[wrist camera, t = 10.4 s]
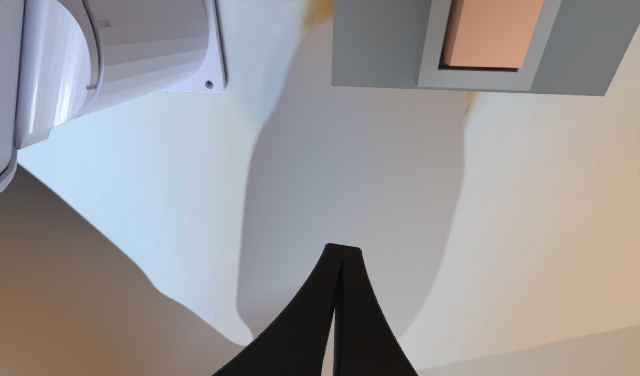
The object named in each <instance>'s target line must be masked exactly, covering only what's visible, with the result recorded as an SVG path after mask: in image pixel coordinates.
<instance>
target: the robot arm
mask: <svg viewBox="0 0 640 376" xmlns="http://www.w3.org/2000/svg"><path fill="white" fill-rule="evenodd" d="M208 81H211V82H212V84H213V88H211V87H210V86H209V85H208ZM225 89H226V79H225V72H224V65H223V58H222V51H221V44H220V37H219V30H218V23H217V16H216V9H215V2H214V0H0V192H1V191H3V190H4V189H5V188H6V186H7V185H8V184H9V182H10V181H11V180H12V178H13V176H14V173H15V171H16V168H17V150H19V149H22V148H24V147H27V146H30V145H32V144H35V143H38V142H40V141H43V140H46V139H48V136H49V133H50V131H51V130H52V128H53V127H55V126H56V125H58V124H61V123H64V122H67V121H70V120H72V119H75V118H78V117H81V116H84V115H87V114H90V113H93V112H95V111H98V110H101V109H104V108H107V107H110V106H113V105H116V104H119V103H122V102H125V101H128V100H130V99H133V98H136V97H139V96H142V95H145V94H148V93H151V92H154V91H157V90H161V91H184V92H207V93H221V92H223V91H224V90H225ZM16 149H17V150H16ZM334 309H335V329H334V331H335V332H334V364H333V376H418V375H417V373H416V371H415V370H414V368H413V367H412V365H411V363H410V362H409V360H408V359H407V357H406V356H405V354H404V352H403V351H402V349H401V347H400V345H399V344H398V342H397V340H396V338H395V336H394V335H393V333H392V331H391V329H390V327H389V325H388V323H387V321H386V319H385V317H384V315H383V313H382V310H381V308H380V306H379V304H378V301H377V299H376V297H375V294H374V291H373V289H372V286H371V283H370V281H369V278H368V275H367V271H366V268H365V264H364V260H363V256H362V250H361V249H360V248H358V247H351V246H345V245H339V244H332V243H328V244H326V245H325V248H324V250H323V253H322V255H321V257H320V259H319V261H318V262H317V264H316V266H315V268H314V269H313V271H312V272H311V274H310V275H309V277H308V279H307V280H306V282H305V283H304V284H303V286H302V287H301V288H300V290H299V291H298V292H297V294H296V295H295V296H294V298H293V299H292V300H291V302H290V303H289V304H288V305H287V306H286V308H285V309H284V310H283V311H282V312H281V313H280V314H279V315H278V317H277V318H276V319H275V320H274V321H273V322H272V323H271V324H270V325H269V326H268V327H267V328H266V329H265V330H264V331H263V332H262V333H261V334H260V335H259V336H258V337H257V338H256V339H255V340H254V341H253V342H251V343H250V344H249V345H248V346H247V347H246V348H245V349H244V350H242V352H240V353H239V354H238V355H237V356H236V357H234V359H232V360H231V361H230V362H228V363H227V364H226V365H225V366H223V367H222V368H221V369H219V370H218V371H217V372H216V373H214V374H213V375H212V376H321V372H322V364H323V359H324V355H325V350H326V345H327V341H328V337H329V332H330V328H331V323H332V319H333V314H334Z"/></svg>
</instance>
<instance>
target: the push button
mask: <svg viewBox="0 0 640 376" xmlns="http://www.w3.org/2000/svg"><path fill="white" fill-rule="evenodd" d="M543 2H544V0H452V3H451V8H450V13H449V18H448V23H447V28H446V33H445V38H444V43H443V48H442V53H441V58H440V61H442V62H444V63H446V64H448V65H450V66H476V67H509V68H521V67H522V64H523V61H524V58H525V55H526V52H527V49H528V47H529V44H530V41H531V38H532V35H533V32H534V29H535V26H536V23H537V20H538V17H539V14H540V11H541V8H542V5H543Z"/></svg>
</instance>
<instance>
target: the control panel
mask: <svg viewBox="0 0 640 376" xmlns="http://www.w3.org/2000/svg"><path fill="white" fill-rule="evenodd" d="M451 3H452V0H334V21H333V53H332V86H353V87H379V88H406V89H431V90H458V91H483V92H509V93H535V94H561V95H587V96H604V95H605V93H606V91H607V89H608V87H609V85H610V83H611V81H612V79H613V77H614V75H615V73H616V71H617V69H618V67H619V64H620V62H621V60H622V58H623V56H624V54H625V52H626V50H627V48H628V46H629V44H630V42H631V40H632V38H633V36H634V34H635V32H636V30H637V28H638V26H639V24H640V0H544V2H543V5H542V8H541V11H540V14H539V17H538V20H537V23H536V26H535V29H534V32H533V35H532V38H531V41H530V44H529V47H528V49H527V52H526V55H525V58H524V61H523V64H522V67H521V68H509V67H476V66H450V65H448V64H446V63H444V62H442V61H440V58H441V53H442V48H443V43H444V38H445V33H446V28H447V23H448V18H449V13H450V8H451Z"/></svg>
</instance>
